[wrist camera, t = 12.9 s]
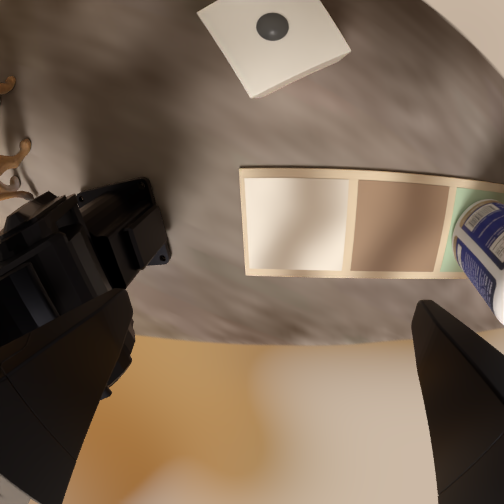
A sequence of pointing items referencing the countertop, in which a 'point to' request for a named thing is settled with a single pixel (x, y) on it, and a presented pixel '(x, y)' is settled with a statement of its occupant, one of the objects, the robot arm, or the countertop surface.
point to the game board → (354, 222)
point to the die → (274, 40)
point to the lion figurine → (13, 158)
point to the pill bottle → (483, 250)
